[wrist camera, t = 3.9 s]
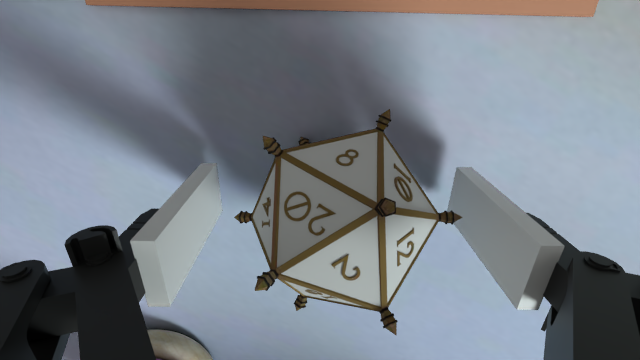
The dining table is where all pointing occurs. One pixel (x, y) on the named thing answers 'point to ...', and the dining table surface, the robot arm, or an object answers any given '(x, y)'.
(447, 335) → the dining table surface
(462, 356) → the dining table surface
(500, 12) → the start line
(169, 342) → the stacking toy
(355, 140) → the game die
